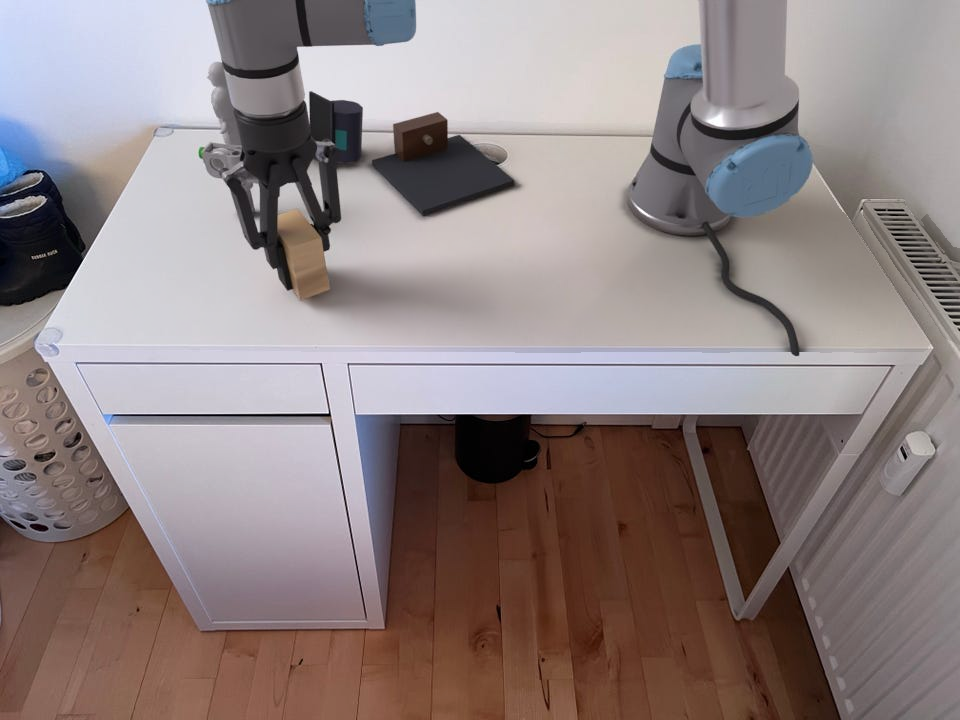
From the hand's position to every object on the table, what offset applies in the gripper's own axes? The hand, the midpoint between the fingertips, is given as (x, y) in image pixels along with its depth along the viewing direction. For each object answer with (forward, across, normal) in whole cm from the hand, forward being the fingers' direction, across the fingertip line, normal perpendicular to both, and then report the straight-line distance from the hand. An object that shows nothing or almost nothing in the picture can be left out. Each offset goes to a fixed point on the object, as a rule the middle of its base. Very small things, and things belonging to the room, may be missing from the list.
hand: (303, 277), depth 94 cm
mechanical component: (+2, 0, -19) cm, 19 cm away
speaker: (+2, -18, -27) cm, 32 cm away
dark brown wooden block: (+1, -29, -21) cm, 35 cm away
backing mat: (+2, -29, -14) cm, 32 cm away
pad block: (0, 0, 0) cm, 0 cm away
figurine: (+2, -4, -35) cm, 35 cm away
